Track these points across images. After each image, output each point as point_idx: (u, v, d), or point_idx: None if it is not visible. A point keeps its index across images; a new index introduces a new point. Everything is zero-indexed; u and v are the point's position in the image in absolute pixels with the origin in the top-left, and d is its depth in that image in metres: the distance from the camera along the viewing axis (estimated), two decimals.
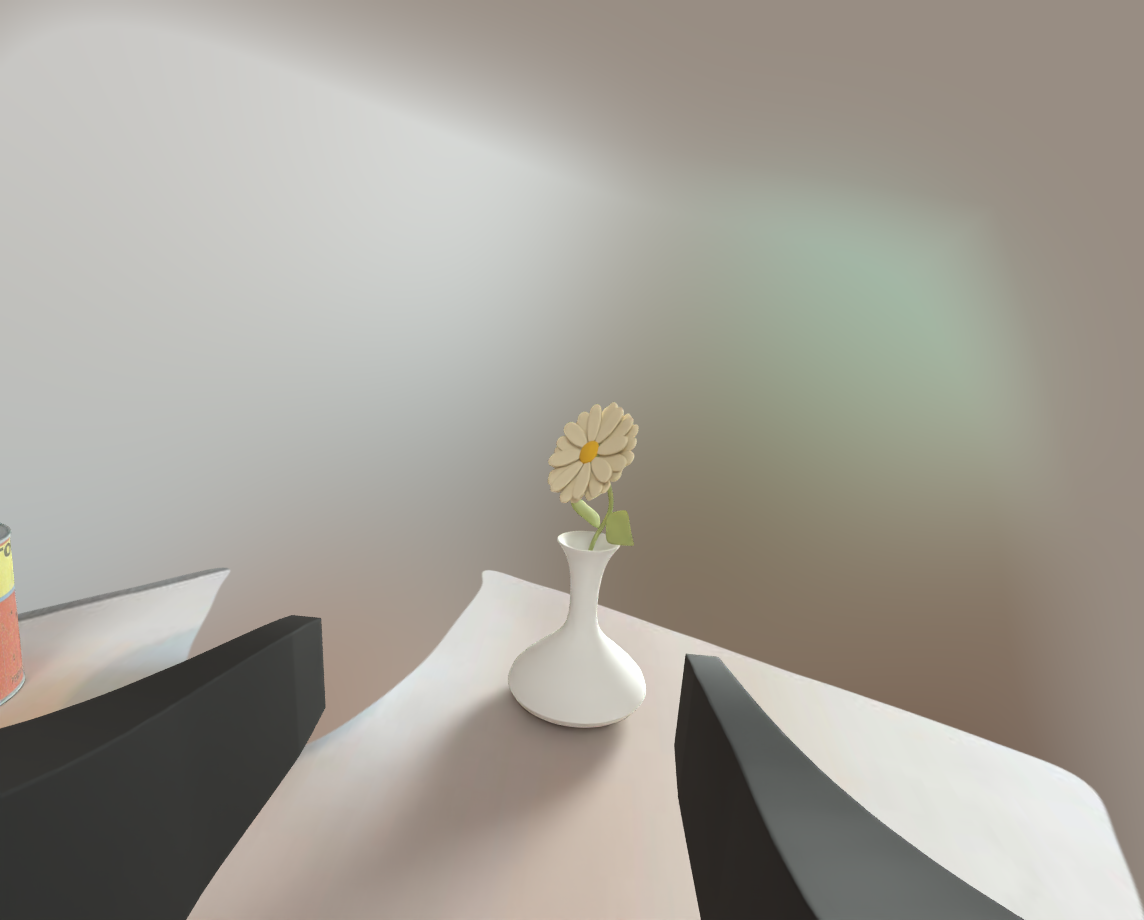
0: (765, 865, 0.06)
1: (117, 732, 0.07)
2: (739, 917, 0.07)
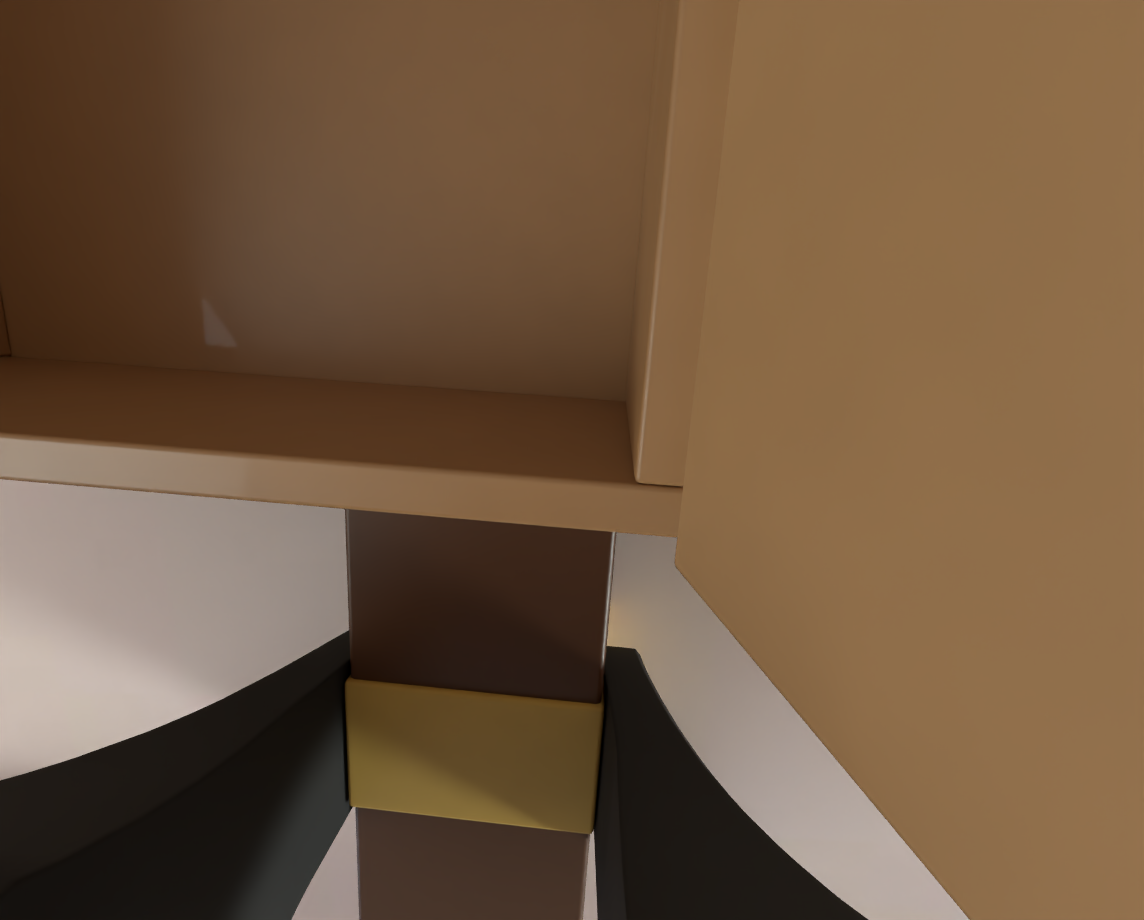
0: (616, 847, 0.06)
1: (234, 745, 0.07)
2: (607, 901, 0.07)
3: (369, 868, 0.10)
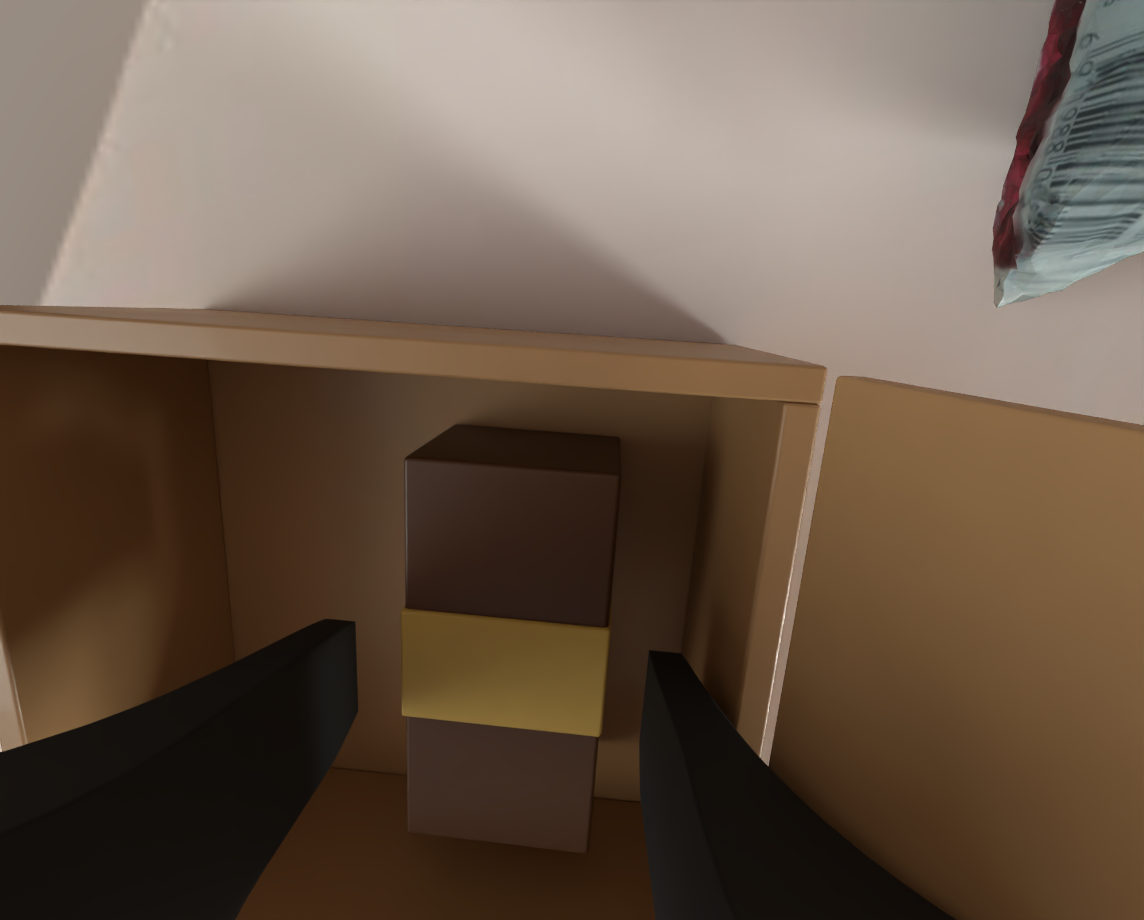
0: (698, 857, 0.06)
1: (171, 737, 0.07)
2: (680, 910, 0.07)
3: (416, 769, 0.12)
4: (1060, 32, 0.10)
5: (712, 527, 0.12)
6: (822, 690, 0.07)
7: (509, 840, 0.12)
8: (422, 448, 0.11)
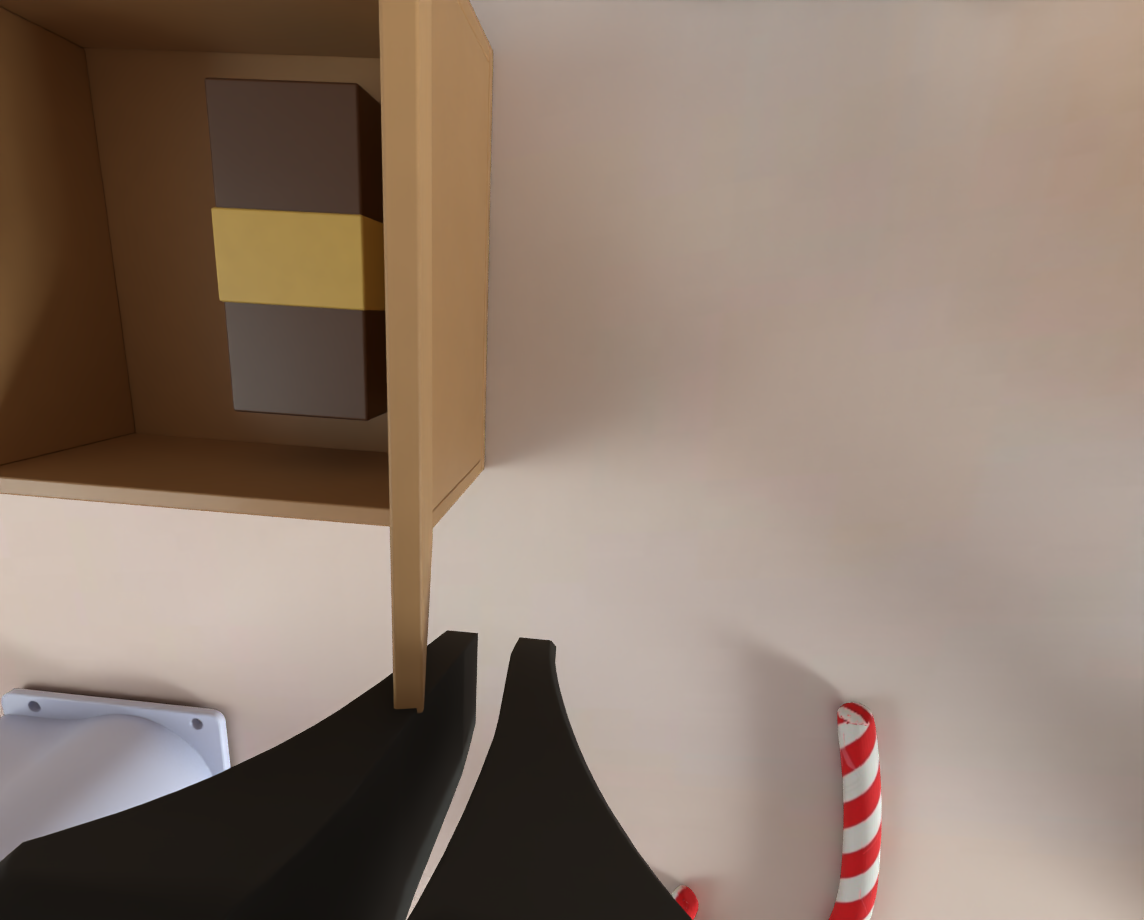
0: None
1: (364, 759, 0.07)
2: None
3: (235, 351, 0.16)
4: None
5: None
6: None
7: (309, 412, 0.16)
8: None
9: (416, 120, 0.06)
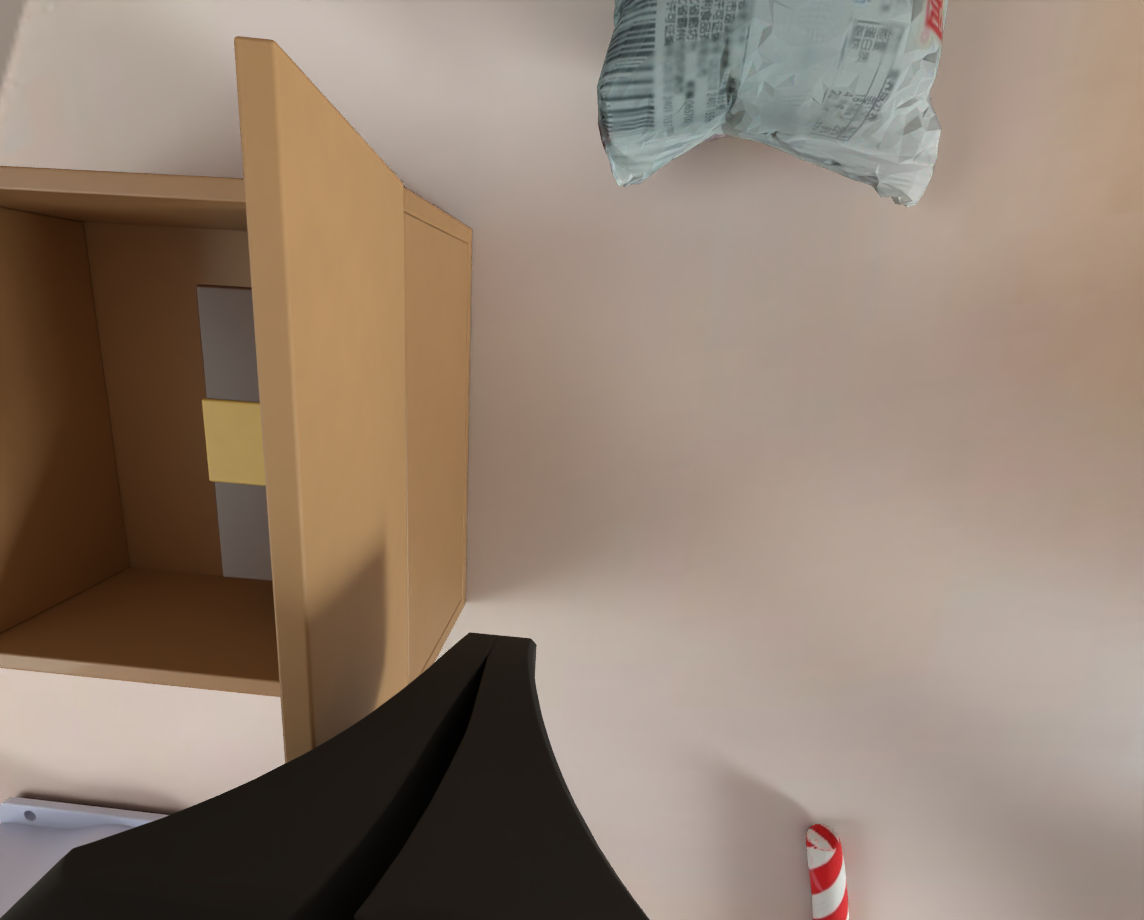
0: None
1: (400, 762, 0.07)
2: None
3: (224, 525, 0.17)
4: None
5: None
6: None
7: None
8: None
9: (300, 564, 0.07)
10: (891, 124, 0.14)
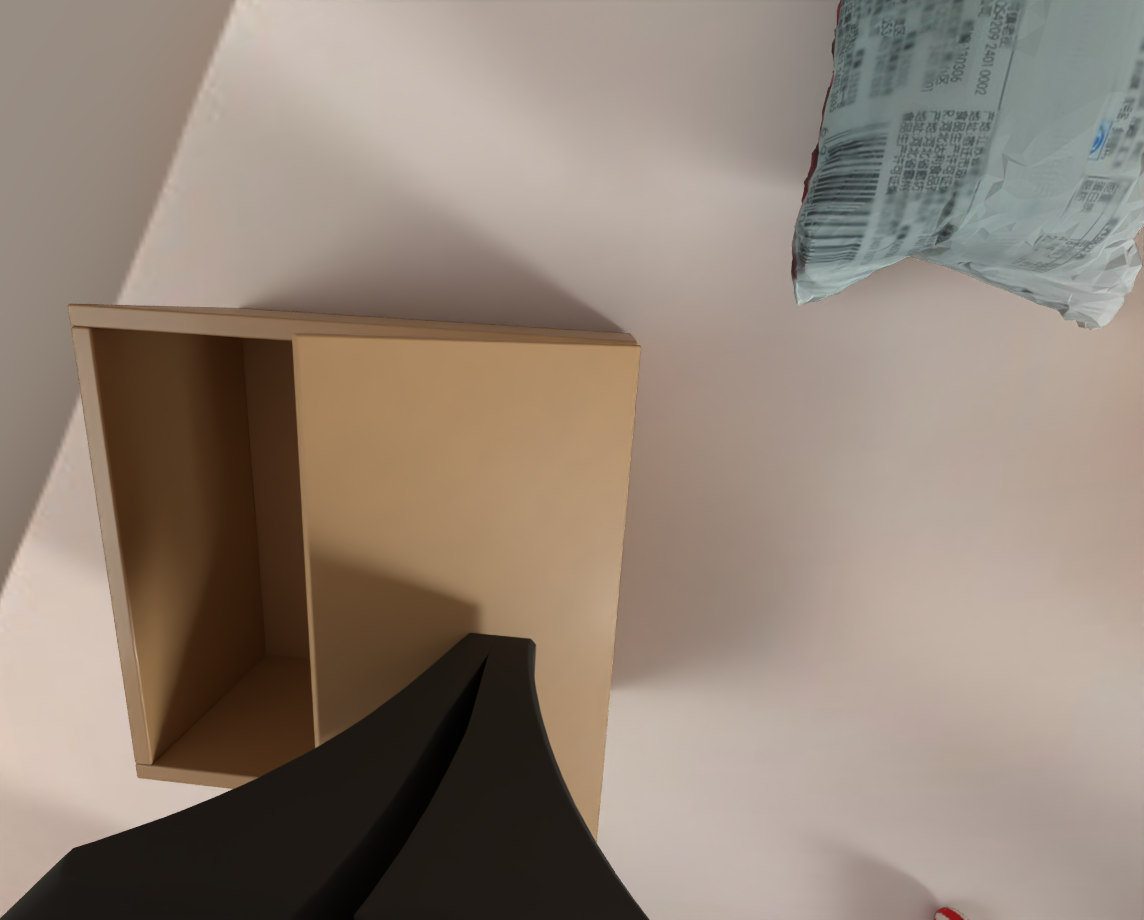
0: None
1: (400, 762, 0.07)
2: None
3: None
4: None
5: None
6: None
7: None
8: None
9: (313, 668, 0.10)
10: (1096, 261, 0.14)
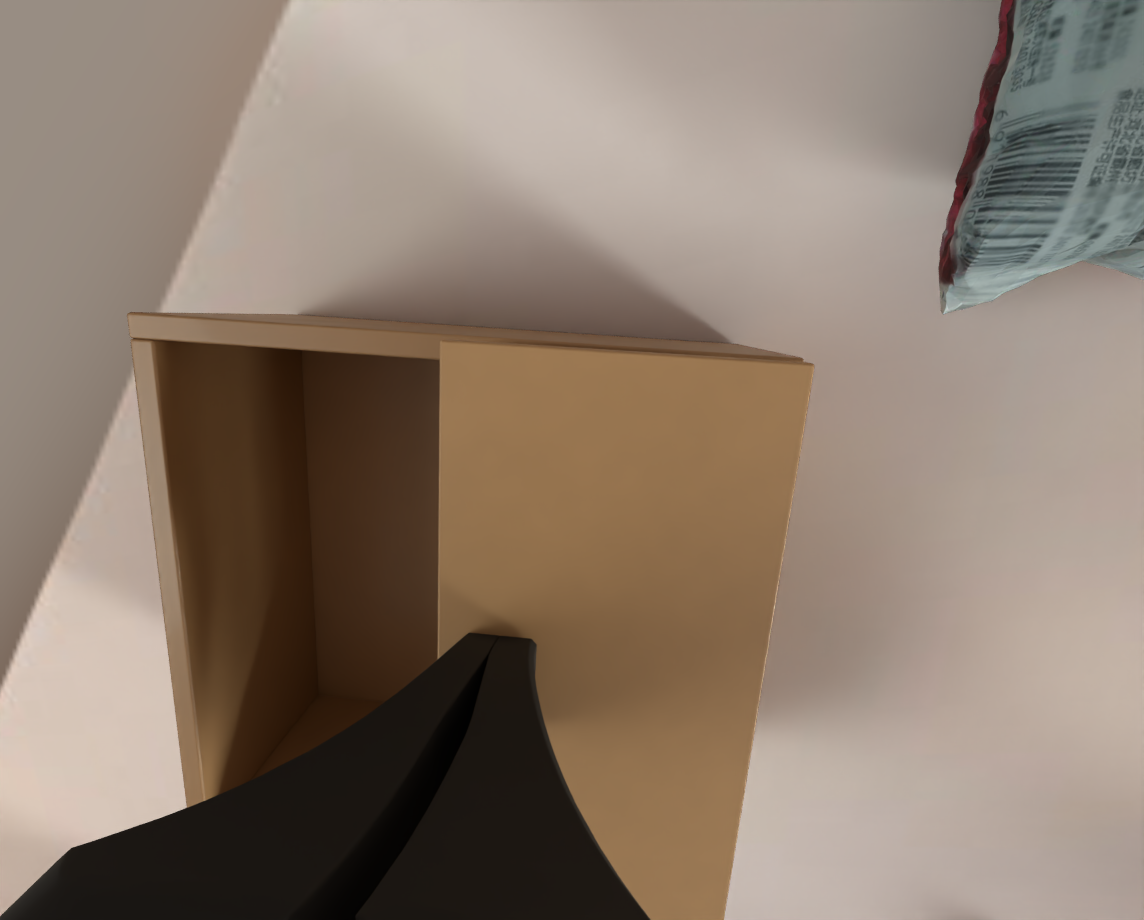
0: None
1: (399, 762, 0.07)
2: None
3: None
4: (987, 102, 0.13)
5: None
6: None
7: None
8: None
9: None
10: None
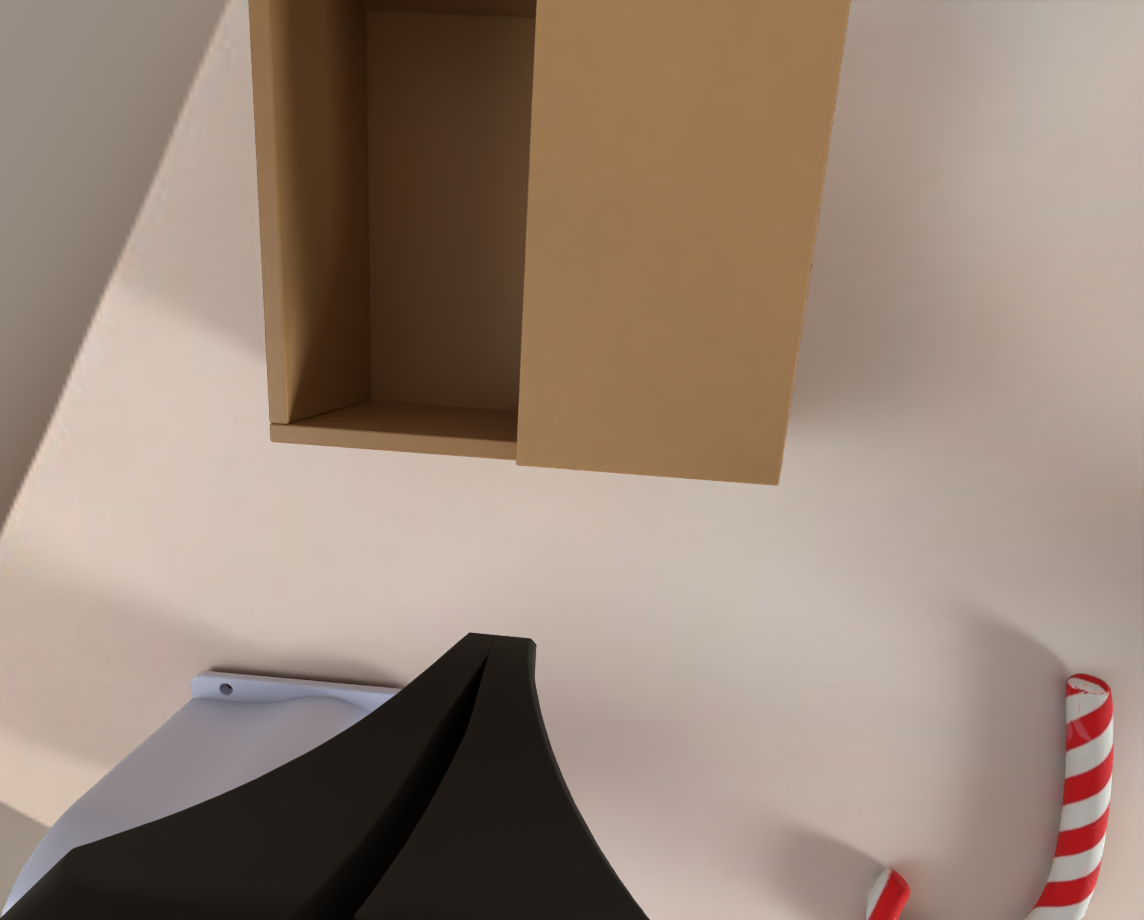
0: None
1: (400, 764, 0.07)
2: None
3: None
4: None
5: None
6: None
7: None
8: None
9: None
10: None
